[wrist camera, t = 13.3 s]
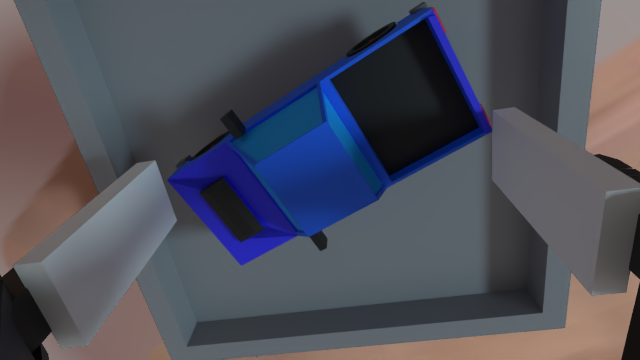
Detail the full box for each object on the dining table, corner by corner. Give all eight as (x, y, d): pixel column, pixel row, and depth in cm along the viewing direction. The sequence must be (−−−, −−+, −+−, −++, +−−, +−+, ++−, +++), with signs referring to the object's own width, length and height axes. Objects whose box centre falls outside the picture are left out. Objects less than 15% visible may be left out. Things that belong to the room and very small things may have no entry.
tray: (9, -114, 16) (-44, -132, 14) (585, -247, 14) (634, -296, 12) (187, 331, 26) (173, 363, 23) (542, 295, 23) (564, 328, 21)
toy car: (176, 140, 18) (124, 187, 14) (408, -17, 15) (438, -22, 11) (261, 243, 21) (240, 313, 16) (479, 125, 18) (528, 169, 13)
